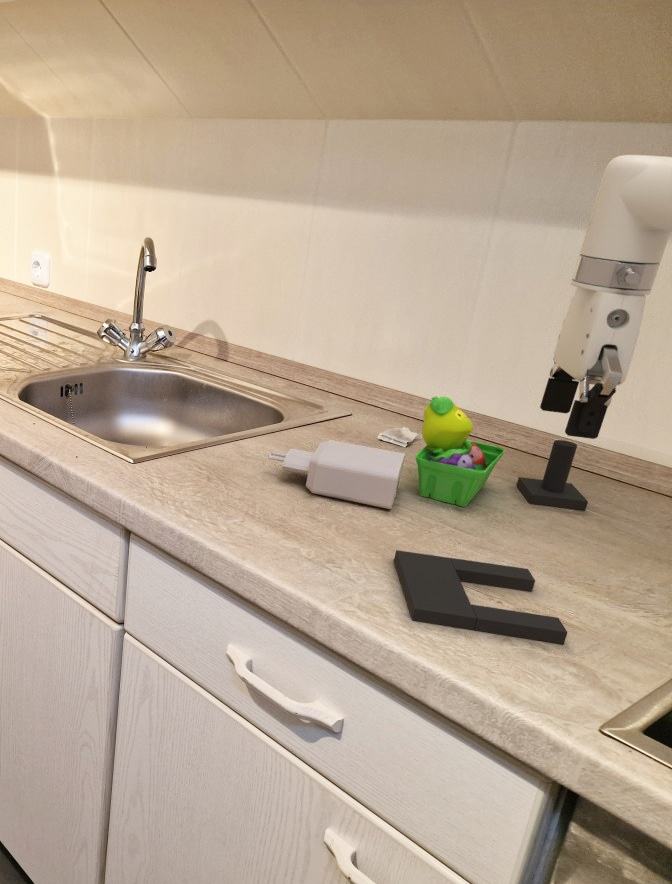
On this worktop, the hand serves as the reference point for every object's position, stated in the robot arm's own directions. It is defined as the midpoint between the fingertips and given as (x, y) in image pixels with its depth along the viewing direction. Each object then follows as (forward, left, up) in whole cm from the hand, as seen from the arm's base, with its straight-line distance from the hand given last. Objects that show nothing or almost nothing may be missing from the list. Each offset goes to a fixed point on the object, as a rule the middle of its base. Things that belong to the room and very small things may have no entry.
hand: (566, 423), depth 100 cm
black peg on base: (0, 0, -9) cm, 9 cm away
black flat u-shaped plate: (+15, +31, -9) cm, 36 cm away
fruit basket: (+12, +2, -10) cm, 15 cm away
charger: (+26, +6, -10) cm, 28 cm away
